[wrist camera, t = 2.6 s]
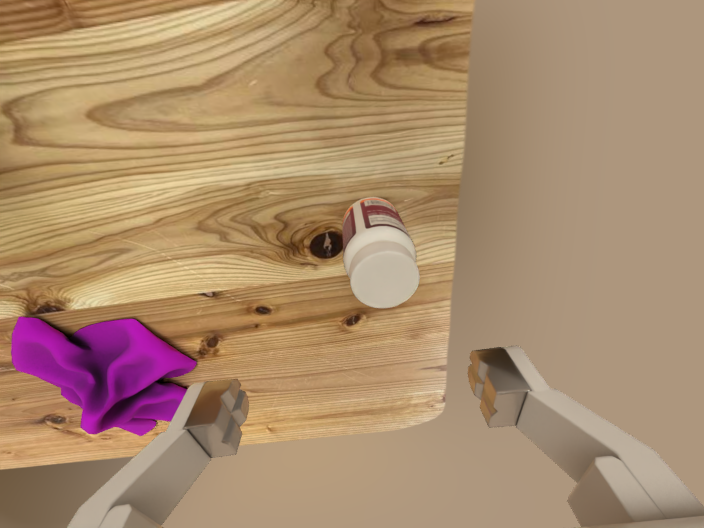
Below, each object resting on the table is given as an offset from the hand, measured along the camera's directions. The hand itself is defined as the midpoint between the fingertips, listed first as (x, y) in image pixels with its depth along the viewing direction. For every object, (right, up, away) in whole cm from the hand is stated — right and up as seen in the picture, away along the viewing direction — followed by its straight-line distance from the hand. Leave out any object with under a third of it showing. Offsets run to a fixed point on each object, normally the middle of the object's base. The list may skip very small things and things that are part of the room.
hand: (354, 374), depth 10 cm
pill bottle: (+2, +7, +13) cm, 15 cm away
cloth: (-26, -10, +23) cm, 36 cm away
